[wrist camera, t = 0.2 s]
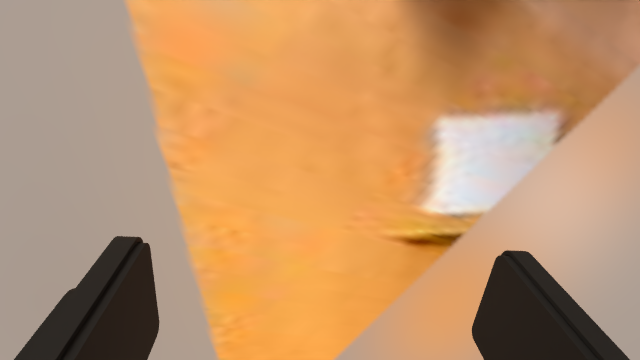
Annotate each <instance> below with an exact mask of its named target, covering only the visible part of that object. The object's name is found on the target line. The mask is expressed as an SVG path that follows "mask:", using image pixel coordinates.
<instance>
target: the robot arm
mask: <svg viewBox="0 0 640 360" xmlns="http://www.w3.org/2000/svg"><path fill="white" fill-rule="evenodd" d="M155 292H156V291H155V283H154V275H153V268H152V259H151V251H150V246H149V244H148V243H143V240H142V239H141V238H140V237H123V236H117V237H115V238H114V239H113V240H112V241H111V242H110V244H109V245H108V246H107V248H106V249H105V250H104V252H103V253H102V254H101V256H100V257H99V258H98V260H97V261H96V262H95V263H94V265H93V266H92V267H91V269H90V270H89V271H88V273H87V274H86V275H85V277H84V278H83V279H82V281H81V282H80V283H79V284H78V286H77V287H76V288H74V289H71V290H69V291H68V292H67V293H66V294H65V295H64V296H63V298H62V299H61V300H60V302H59V303H58V304H57V305H56V307H55V308H54V309H53V311H52V312H51V313H50V314H49V316H48V317H47V318H46V320H45V321H44V322H43V323H42V325H41V326H40V327H39V328H38V330H37V331H36V332H35V334H34V335H33V336H32V337H31V339H30V340H29V341H28V342H27V344H26V345H25V347H23V349H22V350H21V351H20V353H19V354H18V355H17V356H16V358H15V359H14V360H147V359H148V356H149V354H150V352H151V349H152V347H153V344H154V342H155V339H156V337H157V334H158V330H159V316H158V308H157V300H156V293H155ZM472 336H473V339H474V341H475V343H476V345H477V347H478V349H479V351H480V353H481V354H482V356H483V358H484V360H629V358H628V357H627V356H626V355H625V354H624V353H623V352H622V351H621V350H620V349H619V348H618V347H617V345H615V343H614V342H613V341H612V340H611V339H610V338H609V337H608V336H607V335H606V334H605V333H604V332H603V331H602V330H601V328H600V327H599V326H598V325H597V324H596V323H595V322H594V321H593V320H592V319H591V318H590V317H589V316H588V315H587V314H586V312H585V311H584V310H583V309H582V308H581V307H580V306H579V305H578V304H577V303H576V302H575V301H574V300H573V299H572V298H571V296H570V295H569V294H568V293H567V292H566V291H565V290H564V289H563V288H562V287H561V286H560V285H559V284H558V283H557V282H556V281H555V280H554V278H553V277H552V276H551V275H550V274H549V273H548V272H547V271H546V270H545V269H544V268H543V267H542V266H541V265H540V263H539V262H538V261H537V260H536V259H535V258H534V257H533V256H532V255H531V254H530V253H529V252H526V251H504V252H503V253H502V255H501V256H498V257H497V258H496V260H495V262H494V265H493V268H492V271H491V274H490V277H489V280H488V282H487V286H486V288H485V291H484V294H483V297H482V300H481V303H480V306H479V309H478V311H477V314H476V317H475V320H474V323H473V326H472Z"/></svg>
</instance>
